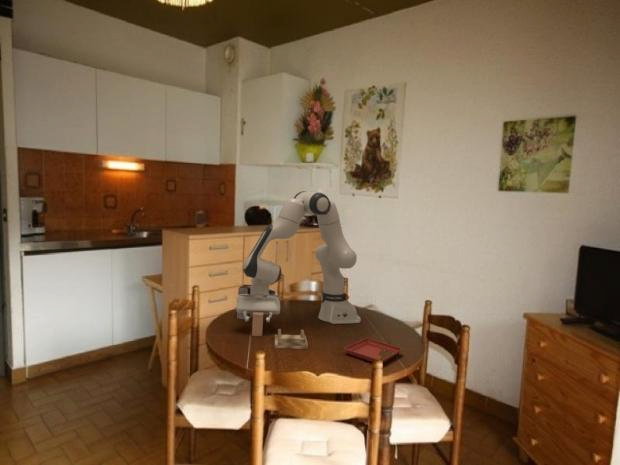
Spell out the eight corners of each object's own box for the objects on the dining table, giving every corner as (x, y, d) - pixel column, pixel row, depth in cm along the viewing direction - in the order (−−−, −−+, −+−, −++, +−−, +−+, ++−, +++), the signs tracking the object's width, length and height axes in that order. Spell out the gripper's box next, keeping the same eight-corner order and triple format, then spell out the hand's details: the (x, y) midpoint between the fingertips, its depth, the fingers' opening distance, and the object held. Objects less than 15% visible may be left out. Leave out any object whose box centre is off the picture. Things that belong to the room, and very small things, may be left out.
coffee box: (248, 320, 207) (250, 288, 205) (236, 318, 208) (237, 287, 206) (254, 315, 216) (256, 285, 214) (243, 313, 217) (244, 283, 215)
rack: (305, 337, 186) (306, 329, 186) (307, 348, 173) (308, 339, 173) (274, 337, 185) (275, 328, 184) (274, 348, 172) (275, 338, 172)
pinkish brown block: (262, 333, 189) (263, 312, 188) (261, 336, 185) (263, 314, 184) (252, 333, 188) (253, 312, 187) (251, 335, 185) (252, 314, 184)
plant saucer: (342, 355, 170) (343, 347, 170) (365, 344, 184) (366, 337, 184) (381, 368, 159) (381, 360, 158) (402, 356, 172) (403, 348, 172)
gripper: (237, 290, 191) (233, 317, 182) (280, 292, 193) (280, 318, 184) (237, 297, 196) (234, 323, 187) (280, 299, 198) (279, 325, 189)
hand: (257, 321), depth 186 cm, fingers open, 8 cm apart
